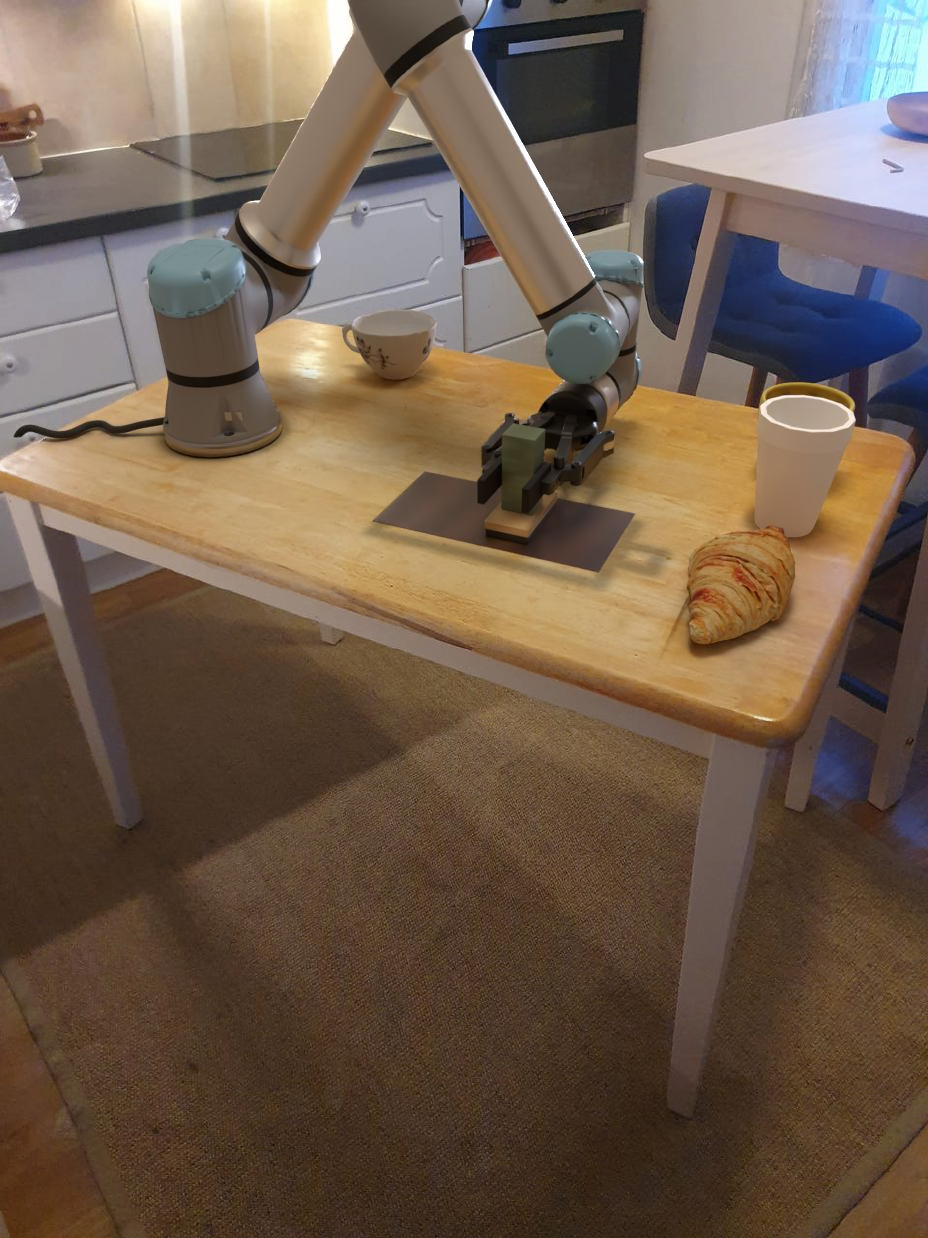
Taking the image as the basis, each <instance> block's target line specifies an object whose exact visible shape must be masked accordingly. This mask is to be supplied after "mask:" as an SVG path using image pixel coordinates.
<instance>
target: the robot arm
mask: <svg viewBox="0 0 928 1238" xmlns="http://www.w3.org/2000/svg"><path fill="white" fill-rule="evenodd" d="M492 3H493V0H347V4H348V7H349V8H348V15H349V19H350V23H351V28H352V32H351V34H350V36H349V38H348V40H347V41H346V44H345V45H344V47H343V48H342V51H341V52H340V55H339V56H338V58H337V60H336V62H335V64H334V66H333V67H332V68H331V70H330V72H329V74H328V76H327V78H326V80H325V81H324V83H323V85H322V87H321V89H320V90H319V92H318V94H317V96H316V98H315V99H314V102H313V104H312V105H311V107H310V109H309V111H308V112H307V114H306V116H305V117H304V119H303V121H302V123H301V125H300V126H299V128H298V130H297V132H296V134H295V136H294V138H293V140H292V141H291V143H290V145H289V147H288V148H287V150H286V152H285V154H284V156H283V158H282V160H281V161H280V163H279V165H278V167H277V168H276V170H275V171H274V174H273V175H272V178H271V179H270V181H269V183H268V185H267V186H266V188H265V190H264V191H263V194H262V195H261V197H260V199H259V200H250V201H247V202H245V203H243V204H242V205H241V207H240V209H239V211H238V212H237V214H236V216H235V218H234V220H233V222H232V224H231V226H230V228H229V229H228V230H227V233H226V234H225V237H224V238H217V237H215V238H214V237H206V238H205V237H204V238H202V237H201V238H194V239H188V240H185V242H184V243H183V242H182V243H180V242H177V243H174V244H171V245H169V246H167V247H165V248H163V249H161V250H160V251H158V252H157V253H155V254H154V256H152V258H151V260H150V261H149V262H148V266H147V270H146V275H147V276H146V277H147V284H148V300H149V303H150V305H151V306H152V312H153V316H154V321H155V325H156V330H157V334H158V339H159V345H160V348H161V353H162V358H163V364H164V368H165V373H166V377H167V390H166V398H165V408H164V409H165V410H164V416H161V417H156V418H150V419H145V420H140V421H136V422H132V423H128V424H124V425H112V424H111V423H110V422H107V421H106V420H101V419H93V420H88V421H85V422H83V423H81V424H78V425H77V426H75V427H72V428H69V429H66V430H54V429H49V428H46V427H43V426H40V425H36V424H24V425H21V426H20V427H18V428H17V430H16V431H15V433H14V434H13V438H15V439H16V438H22V437H24V436H25V434H28V433H33V434H34V433H35V434H36V435H37V434H38V435H40V436H44V437H46V438H51V439H58V440H59V439H61V440H62V439H69V438H73V437H76V436H78V435H80V434H83V433H84V432H86V431H89V430H91V429H99V428H100V429H103V430H105V431H107V432H108V433H111V434H117V435H118V434H125V433H130V432H134V431H138V430H142V429H148V428H153V427H159V426H162V429H163V433H164V439H165V442H166V444H167V446H168V447H170V448H171V449H172V450H174V451H175V452H178V453H181V454H184V455H188V456H191V457H198V458H199V457H200V458H201V457H202V458H221V457H229V456H236V455H242V454H246V453H249V452H252V451H256V450H258V449H261V448H263V447H265V446H267V445H268V444H270V443H272V442H273V441H274V440H276V439H277V438H278V437H279V436H280V434H281V433H282V430H283V424H282V417H281V416H282V415H281V411H280V410H279V408H278V405H277V404H276V403H275V402H274V399H273V397H272V395H271V392H270V391H269V388H268V386H267V383H266V382H265V379H264V378H263V375H262V373H261V368H260V362H259V355H258V347H257V340H256V335H257V334H259V333H260V332H262V331H263V330H264V329H266V328H267V327H269V326H270V325H273V323H274V322H276V321H277V320H279V319H280V318H283V317H284V316H287V315H289V314H290V313H292V312H293V311H294V310H296V309H297V308H298V307H299V306H300V305H301V304H302V303H303V301H304V300H305V299H306V297H307V296H308V294H309V292H310V291H311V288H312V286H313V283H314V278H315V270H316V268H317V267H318V266H319V263H320V262H321V259H322V251H321V248H320V244H319V241H320V239H321V238H322V236H323V235H324V233H325V231H326V230H327V228H328V227H329V224H330V223H331V221H332V219H333V218H334V217H335V216H336V214H337V212H338V210H339V209H340V207H341V205H342V204H343V202H344V200H346V198H347V196H348V194H349V192H350V191H351V189H352V188H353V186H354V184H355V183H356V181H357V180H358V178H359V177H360V175H361V173H362V171H363V170H364V169H365V167H366V165H367V164H368V162H369V160H370V159H371V157H372V156H373V154H374V152H375V150H376V149H377V147H378V146H379V144H380V143H381V141H382V139H383V137H384V136H385V134H386V133H387V131H388V130H389V128H390V127H391V125H392V123H393V122H394V120H395V119H396V116H397V115H398V114H399V112H400V111H401V109H402V108H403V106H404V104H405V103H406V101H407V99H408V100H409V101H410V103H411V105H412V107H413V108H414V110H415V112H416V113H417V116H418V117H419V119H420V120H421V123H422V124H423V126H424V127H425V129H426V131H427V132H428V134H429V136H430V137H431V139H432V141H433V143H434V144H435V146H436V148H437V150H438V151H439V153H440V155H441V157H442V158H443V160H444V161H445V163H446V165H447V167H448V168H449V170H450V172H451V173H452V175H453V177H454V179H455V181H456V183H457V184H458V186H459V187H460V189H461V190H462V192H463V194H464V196H465V197H466V199H467V201H468V202H469V204H470V206H471V208H472V209H473V211H474V213H475V215H476V216H477V218H478V220H479V222H480V223H481V225H482V226H483V228H484V230H485V231H486V232H485V233H487V236H488V237H489V239H490V240H491V242H492V244H493V245H494V248H495V249H496V250H497V252H498V254H499V255H500V257H501V259H502V260H503V262H504V264H505V266H506V267H507V269H508V271H509V273H510V274H511V276H512V278H513V280H514V282H515V284H516V285H517V286H518V288H519V290H520V292H521V294H522V295H523V298H524V299H525V301H526V302H527V303H528V305H529V307H530V309H531V310H532V312H533V314H534V316H535V317H536V319H537V321H538V322H539V324H540V326H541V328H542V330H543V332H544V333H545V335H546V337H547V338H546V341H545V355H546V357H545V358H546V361H547V363H548V365H549V366H548V367H550V370H551V371H552V372H553V373H554V374H555V375H556V376H557V377H559V378H560V379H561V380H563V381H562V382H560V383H559V384H558V385H557V387H555V389H554V390H553V391H552V392H551V393H550V394H549V395H548V396H547V397H546V398H545V399H544V400H543V402H542V403H541V405H540V407H539V409H538V411H537V412H536V413H532V414H531V415H529V416H528V417H527V419H520V418H518V417H516V414H515V413H513V412H507V413H505V414H504V419H503V420H504V421H502V423H501V424H500V425H499V426H498V427H497V428H496V430H494V432H493V433H492V434H491V435H490V436H489V437H488V438H487V439H486V440H485V441H484V442H483V443H482V444H481V447H480V449H481V450H480V452H481V455H480V456H481V457H480V459H481V460H480V462H481V463H480V464H481V475H480V476H479V477H478V478H477V480H476V482H477V503H479V504H483V505H484V504H485V503H486V502H487V501H488V500H489V499H490V498H491V496H492V495H493V494H494V493H495V492H496V491H497V490H498V489H499V488H500V486H501V487H502V434H503V433H504V432H505V431H506V430H507V429H508V428H509V427H510V426H511V425H512V424H519V425H525V426H530V427H536V428H542V429H545V449H544V452H545V451H546V450H553V451H556V452H555V455H553V456H552V457H553V460H552V462H549V461H544V463H543V465H542V466H541V467H540V468H539V469H538V470H537V472H536V473H535V474H534V475H533V476H532V477H531V479H530V480H529V481H528V482H527V483H526V484H525V486H524V487H523V488H522V507H521V512H522V513H527V514H529V512H530V511H531V510H532V509H533V507H534V506H535V505H536V504H537V502H538V501H539V500H540V499H541V497H542V496H543V495H544V494H545V495H551V494H553V493H554V492H556V490H557V489H558V487H560V486H563V485H564V483H569V484H570V485H571V486H572V487H580V486H581V485H582V484H583V483H584V482H585V481H586V480H587V479H588V477H589V476H590V475H591V474H592V472H593V471H594V470H595V469H596V468H597V467H598V466H599V464H600V463H601V462H602V460H603V459H605V458H607V457H608V456H611V455H613V454H614V451H615V441H616V439H615V438H616V432H615V430H611V429H608V430H604V429H605V428H606V427H607V425H608V424H609V423H610V422H611V420H612V419H613V418H614V417H615V415H616V414H617V412H618V411H619V410H620V409H621V407H623V405H624V404H625V403H626V402H628V401H629V400H630V399H631V397H632V396H633V394H634V392H635V391H636V390H637V389H638V385H639V383H640V381H641V378H642V373H643V367H642V361H641V359H640V357H639V355H638V352H637V344H638V342H637V341H638V330H639V321H640V313H641V303H642V294H643V289H644V287H645V285H644V261H643V259H642V258H641V257H640V256H639V255H637V254H636V253H633V252H631V251H626V250H619V249H602V250H595V251H591V252H589V253H587V254H585V255H584V253H583V252H582V250H581V248H580V246H579V245H578V242H577V241H576V239H575V237H574V236H573V234H572V232H571V230H570V228H569V226H568V224H567V222H566V221H565V218H564V217H563V215H562V213H561V211H560V209H559V208H558V206H557V204H556V202H555V201H554V199H553V196H552V195H551V193H550V191H549V189H548V187H547V186H546V183H545V182H544V180H543V178H542V176H541V175H540V173H539V171H538V170H537V168H536V166H535V164H534V162H533V160H532V159H531V156H530V155H529V152H528V151H527V149H526V148H525V145H524V144H523V142H522V140H521V138H520V137H519V135H518V133H517V131H516V129H515V127H514V125H513V124H512V121H511V120H510V118H509V116H508V115H507V113H506V111H505V108H504V107H503V105H502V104H501V101H500V100H499V98H498V96H497V94H496V93H495V91H494V89H493V87H492V85H491V83H490V81H489V80H488V77H486V74H485V72H484V71H483V69H482V67H481V65H480V63H479V61H478V60H477V58H476V56H475V54H474V52H473V50H472V45H473V39H474V38H473V37H474V33H475V32H474V31H475V30H476V29H477V28H478V27H479V26H480V25H481V23H482V22H483V21H484V20H485V17H486V16H487V14H488V13H489V10H490V9H491V6H492ZM603 430H604V431H603ZM575 452H579V453H578V454H577V456H575V458H574V459H573V455H574V453H575ZM572 459H573V460H572Z"/></svg>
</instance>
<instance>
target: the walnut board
mask: <svg viewBox="0 0 928 1238" xmlns="http://www.w3.org/2000/svg"><path fill="white" fill-rule="evenodd" d="M501 501H502V485H501V486H500V488H499V489H498V490H497V491H496V492H495V493H494V494H493V495H492V496H491V498H490V499H489V500H488V501H487V502H486V503H485V504H484V505H483V504H479V503H477V480H476V481H475V480H470V479H465V478H460V477H456V476H450V475H445V474H441V473H435V472H430V471H423V472H422V473H421V474H420V475H419V476H418V477H417V478H416V479H415V480H413V482H412V483H411V484H410V485H408V486H407V487H406V488H405V489H404V490H403V491H402V492H401V493H400V494H399V495H398V496H397V497H396V498H395V499H394V500H392V501H391V503H389V504H388V505H387V506H386V507H385V508H384V509H383V510H382V511H381V512H380V513H379V514H378V515H377V516H375V518H373V519H372V521H371V522H373V523H377V524H382V525H386V526H391V527H396V528H399V529H404V530H409V531H413V532H417V533H422V534H426V535H430V536H434V537H435V536H436V537H439V538H445V539H448V540H453V541H457V542H462V543H465V544H470V545H476V546H479V547H484V548H488V549H493V550H496V551H502V552H506V553H511V554H515V555H519V556H524V557H528V558H533V559H537V560H541V561H546V562H551V563H555V564H559V565H563V566H568V567H572V568H575V569H576V568H577V569H581V570H585V571H589V572H595V573H600V571H601V570H602V569H603V567H604V566H605V564H606V562H607V560H608V559H609V558H610V556H611V554H612V552H613V551H614V549H615V548H616V546H617V544H618V543H619V541H620V540H621V538H622V537H623V535H624V534H625V532H626V530H627V529H628V527H629V525H630V524H631V522H632V520H633V519H634V517H635V515H636V513H634V512H629V511H625V510H620V509H615V508H609V507H605V506H599V505H594V504H590V503H584V502H581V501H580V502H579V501H575V500H571V499H564V498H561V497H558V500H557V501H556V508H555V509H554V510H553V511H552V513H551V514H550V515H549V517H548V518H547V519H546V521H545V522H544V523H543V524H542V526H541V527H540V528H539V530H538V531H537V532H536V534H535V535H534V536H533V537H532V539H531V540H530V541H529V543H528V544H523V543H519V542H514V541H510V540H505V539H500V538H496V537H491V536H487V535H486V528H484V521H485V520H486V519H487V517H488V516H489V515H490V514H491V513H492V512H493V511H494V509H495V508H496V507H497V506H498V505H499V504H500V502H501Z"/></svg>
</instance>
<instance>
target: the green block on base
mask: <svg viewBox="0 0 928 1238" xmlns="http://www.w3.org/2000/svg"><path fill="white" fill-rule="evenodd" d="M544 449H545V429H542V428H536V427H530V426H525V425H519V424H512V425H511V426H510V427H509V428H508V429H507V430H506V431H505V432H504V433H503V434H502V485H501V487H502V501H501V502H500V504H499V505H498V506H497V507H496V508H495V509H494V511H493V512H492V513H491V514H490V515H489V516H488V517H487V519H486V520H485V521H484V528H486V535H487V536H491V537H496V538H500V539H505V540H510V541H514V542H519V543H523V544H528V543H529V541H530V540H531V539H532V537H533V536H534V535H535V534H536V532H537V531H538V530H539V528H540V527H541V526H542V524H543V523H544V522H545V521H546V519H547V518H548V517H549V515H550V514H551V513H552V511H553V510H554V509H555V508H556V501H557V500H558V498H559V492H558V491H557V492H556V491H554V493H553V494H551V495H545V494H544V495H543V496H542V497H541V499H540V500H539V501H538V502H537V504H536V505H535V506H534V507H533V509H532V510H531V511H530V512H529V514H527V513H522V512H521V507H522V488H523V487H524V486H525V484H526V483H527V482H528V481H529V480H530V479H531V477H532V476H533V475H534V474H535V473H536V472H537V470H538V469H539V468H540V467H541V466H542V465H543V463H544V462H545V451H544Z"/></svg>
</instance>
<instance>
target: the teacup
mask: <svg viewBox="0 0 928 1238" xmlns="http://www.w3.org/2000/svg"><path fill="white" fill-rule="evenodd" d="M437 326H438V321H437V319H435V317H434V316H432V315H431V314H429V313H426V312H425V311H420V310H415V309H398V308H397V309H395V308H394V309H383V310H378V311H373V312H371V313H369V314H367V315H366V314H363V315H360V316H357V317H356V318H354V319H353V321H352V322H346V323H345V324H344V325H343V326H342V328H341V332H342V339H343V342H344V344H345V345H346V347H348V349H350V351H351V352H354V353H357V354H359V355H360V356H361V358H362V360H363V361H364V362H365V363H366V365H367V366H368V367H369V368H370V369H371V370H373V371H374V372H375V373H376V374H377V375H378V376H379V377H380V378H383V379H385V380H390V381H400V380H405V379H408V378H411V377H413V376H415V374H416V373H417V372H418V371H419V370H420V369H421V367H422V366H423V365H424V364H425V362H426V361H427V360H428V358H429V356H430V354H431V352H432V350H433V346H434V343H435V339H436V332H437V328H438V327H437ZM349 331H352V335H353V336H352V337H353V340H354V343H355V345H354V344H352V343H351V342H350V341H349V338H348V333H349Z"/></svg>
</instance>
